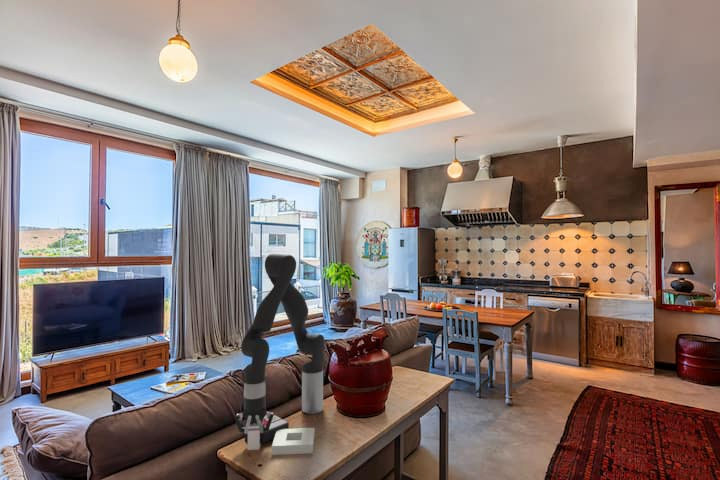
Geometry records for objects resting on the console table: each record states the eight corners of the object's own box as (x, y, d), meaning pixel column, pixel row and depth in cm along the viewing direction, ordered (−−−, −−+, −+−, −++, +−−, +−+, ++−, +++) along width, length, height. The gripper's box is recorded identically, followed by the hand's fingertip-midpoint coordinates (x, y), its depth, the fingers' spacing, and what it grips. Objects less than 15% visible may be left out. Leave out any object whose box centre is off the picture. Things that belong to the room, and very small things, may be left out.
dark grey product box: (268, 410, 149) (289, 420, 138) (269, 420, 149) (289, 432, 138) (243, 419, 141) (262, 431, 131) (244, 430, 141) (263, 443, 130)
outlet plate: (276, 437, 135) (276, 429, 136) (314, 435, 137) (314, 427, 137) (271, 455, 123) (271, 446, 124) (312, 453, 125) (312, 444, 125)
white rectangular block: (250, 444, 131) (250, 421, 131) (261, 443, 131) (261, 421, 131) (247, 450, 127) (247, 426, 127) (259, 449, 127) (259, 426, 127)
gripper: (276, 389, 134) (276, 436, 133) (237, 390, 133) (236, 438, 132) (273, 397, 126) (273, 447, 126) (231, 398, 125) (231, 449, 125)
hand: (254, 442), depth 129 cm, fingers closed on white rectangular block, 4 cm apart
